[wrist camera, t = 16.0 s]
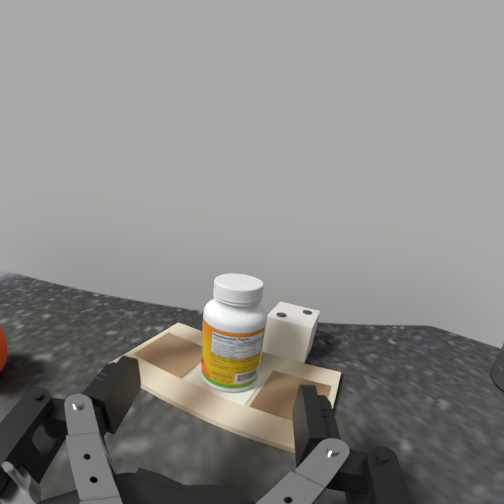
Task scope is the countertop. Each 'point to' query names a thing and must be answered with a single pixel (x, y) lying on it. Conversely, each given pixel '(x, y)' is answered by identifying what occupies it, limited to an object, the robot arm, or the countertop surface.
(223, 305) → the supplement bottle
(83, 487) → the robot arm
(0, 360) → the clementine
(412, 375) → the countertop surface
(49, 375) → the countertop surface
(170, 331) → the board
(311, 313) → the die
